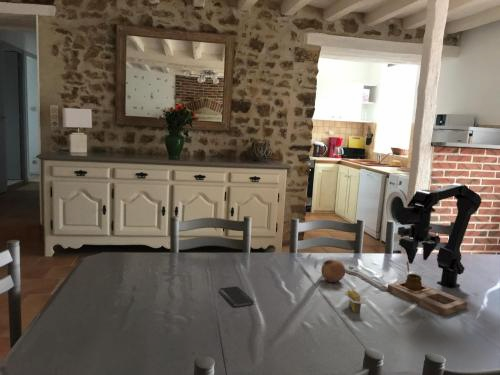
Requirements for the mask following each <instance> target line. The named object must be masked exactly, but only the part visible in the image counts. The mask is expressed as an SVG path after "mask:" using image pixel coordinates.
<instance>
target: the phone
mask: <svg viewBox="0 0 500 375" xmlns="http://www.w3.org/2000/svg"><path fill="white" fill-rule="evenodd" d="M219 293H220V294H221V295H222V296H223V297H224V298H225V299H226V300H227V302H228V303H229V304H230V305H231V306H232V307H234V308H238V307H246V306H252V305H254V302H255V301H254V300H253V299H252V298H251V297H250V296H249V295H248V294H247V293H246V292H245V291H244V290H242V288H241V287H240V286H227V287H220V288H219Z"/></svg>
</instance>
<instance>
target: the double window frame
mask: <svg viewBox="0 0 500 375" xmlns="http://www.w3.org/2000/svg"><path fill="white" fill-rule="evenodd" d="M405 282H406V279H405V280H401V281H397V282H393V283H389V284H387V287H388V288H387V291H388V292H389V293H392V294H394V295H395V296H398V297H401V298H403V299H405V300H407V301H410V302H412V303H413V304H417V305H419V306H420V307H423V308H425V309H428V310H430V311H432V312H435V313H436V314H439V315H441V316H444V317H446V316H447V315H451V314H454V313H458V312H459V311H462V310H465V309H467V308H468V303H469V302H468V301H467V300H464V299H462V298H460V297H457V296H455V295H452V294H449V293H447V292H444V291H441V290H440V289H437V288H434V287H431V286H429V285H426V284H424V283H422V287H421V290H419V291H413V290H410V289H408V288H405ZM444 303H445V304H444Z"/></svg>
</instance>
